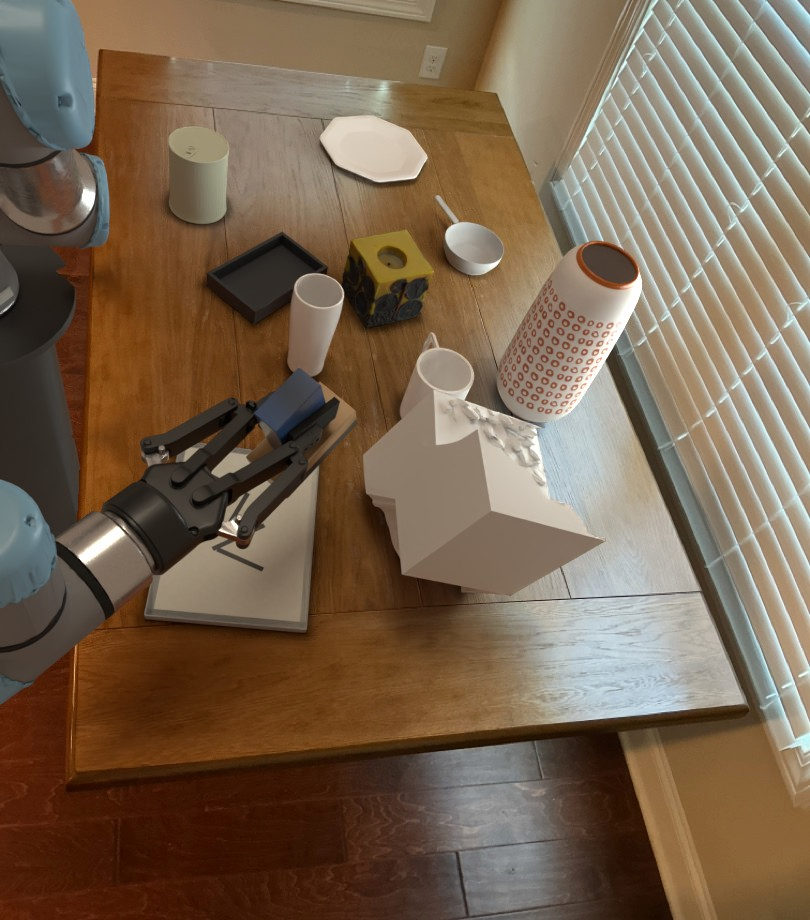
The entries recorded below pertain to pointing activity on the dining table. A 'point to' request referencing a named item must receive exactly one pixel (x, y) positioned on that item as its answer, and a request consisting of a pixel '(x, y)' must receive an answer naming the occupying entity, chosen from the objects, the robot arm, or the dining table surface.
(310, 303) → the drinking glass
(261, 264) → the tray
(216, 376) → the dining table surface
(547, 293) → the patterned vase
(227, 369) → the dining table surface
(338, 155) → the plate
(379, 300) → the candle
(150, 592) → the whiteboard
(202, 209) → the can
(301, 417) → the blue block with base
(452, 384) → the cup
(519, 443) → the tissue box
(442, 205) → the small pan
